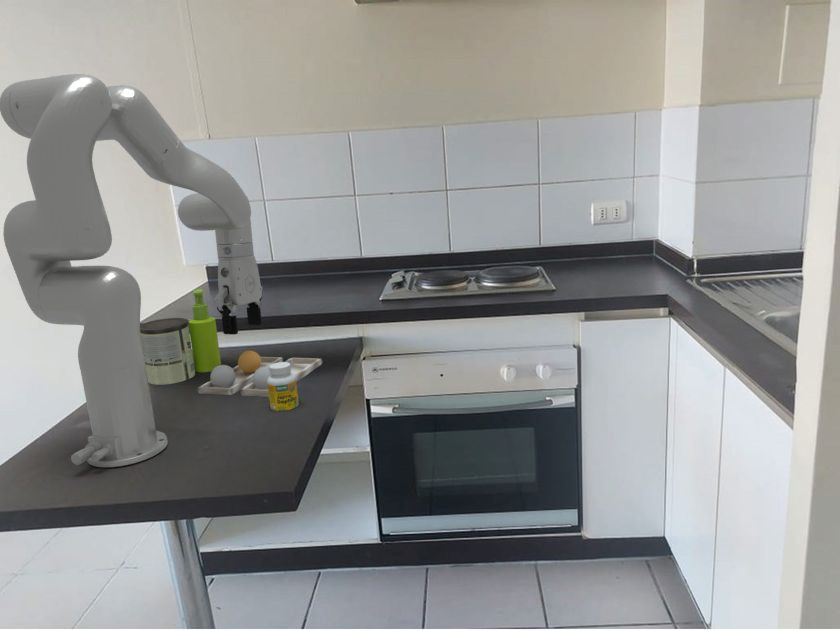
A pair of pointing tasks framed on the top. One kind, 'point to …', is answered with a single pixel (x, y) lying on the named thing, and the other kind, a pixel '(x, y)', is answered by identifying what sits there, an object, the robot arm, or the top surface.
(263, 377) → the grey ball front
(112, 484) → the top surface
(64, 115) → the robot arm
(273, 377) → the supplement bottle
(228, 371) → the grey ball back
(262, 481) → the top surface
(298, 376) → the trough board
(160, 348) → the coffee can
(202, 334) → the soap dispenser
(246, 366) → the orange ball
